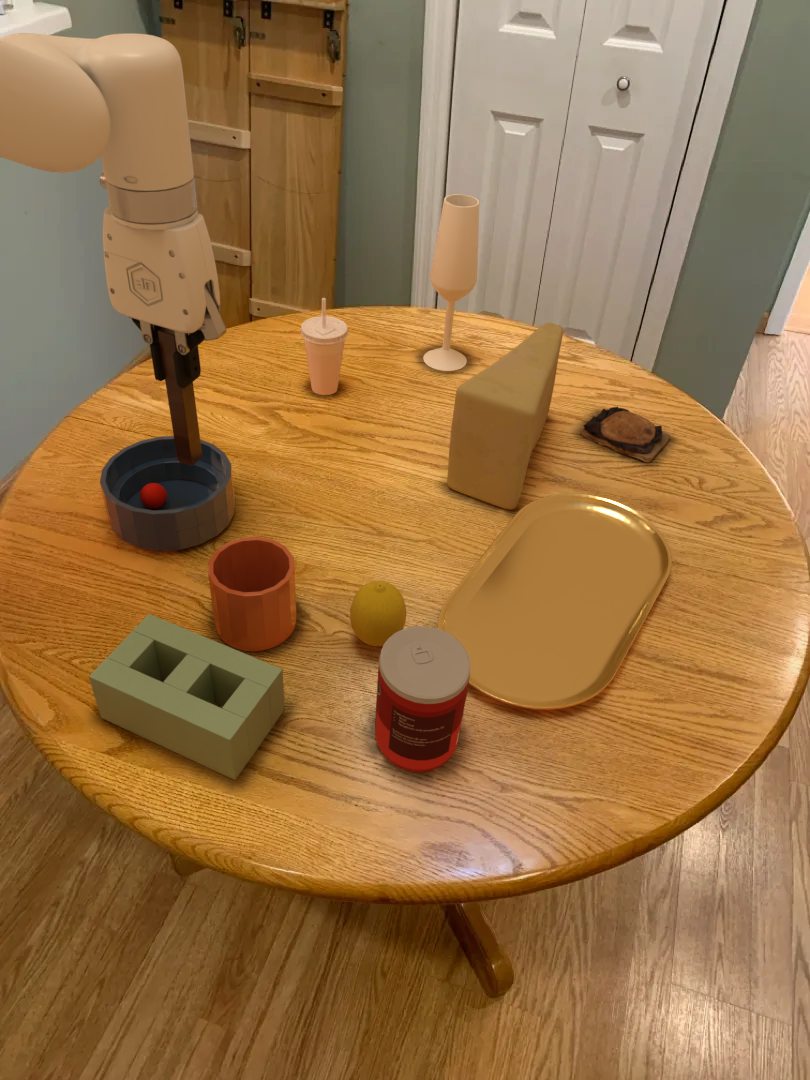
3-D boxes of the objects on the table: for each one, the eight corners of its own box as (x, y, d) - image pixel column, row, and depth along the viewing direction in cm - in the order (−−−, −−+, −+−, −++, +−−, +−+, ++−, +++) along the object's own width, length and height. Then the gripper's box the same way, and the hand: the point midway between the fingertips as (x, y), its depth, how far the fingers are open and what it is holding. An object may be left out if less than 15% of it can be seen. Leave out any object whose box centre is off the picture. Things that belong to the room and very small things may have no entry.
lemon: (386, 670, 83) (390, 615, 78) (339, 647, 85) (339, 591, 80) (413, 634, 87) (419, 579, 82) (367, 613, 89) (369, 558, 83)
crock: (215, 654, 83) (207, 598, 78) (215, 595, 89) (208, 539, 84) (298, 648, 85) (296, 592, 79) (293, 590, 91) (291, 534, 85)
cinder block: (235, 780, 73) (229, 740, 69) (100, 717, 77) (88, 676, 73) (285, 709, 79) (282, 668, 75) (157, 655, 83) (148, 613, 79)
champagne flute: (437, 374, 125) (453, 212, 109) (415, 353, 130) (427, 194, 114) (475, 365, 128) (496, 206, 112) (452, 345, 132) (469, 188, 116)
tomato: (141, 514, 97) (137, 494, 95) (142, 498, 99) (139, 478, 97) (167, 513, 98) (164, 493, 96) (169, 497, 100) (165, 477, 98)
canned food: (422, 690, 82) (432, 612, 74) (475, 748, 77) (491, 672, 70) (356, 726, 78) (360, 648, 71) (408, 790, 73) (417, 714, 66)
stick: (192, 466, 93) (174, 335, 82) (177, 461, 94) (156, 330, 83) (202, 457, 94) (186, 327, 84) (187, 451, 95) (169, 322, 84)
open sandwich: (672, 439, 117) (680, 417, 114) (647, 466, 111) (654, 444, 109) (603, 410, 121) (609, 388, 119) (575, 435, 116) (581, 412, 113)
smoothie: (299, 398, 118) (296, 306, 109) (304, 374, 123) (303, 284, 114) (344, 402, 118) (346, 309, 109) (348, 378, 123) (350, 287, 114)
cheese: (509, 405, 120) (525, 308, 110) (573, 426, 117) (596, 328, 107) (441, 488, 105) (453, 384, 95) (513, 514, 102) (534, 410, 92)
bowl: (103, 558, 92) (93, 517, 88) (115, 478, 103) (107, 438, 99) (235, 550, 95) (231, 509, 91) (234, 473, 105) (230, 433, 101)
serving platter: (402, 661, 84) (403, 651, 83) (545, 484, 107) (547, 474, 106) (576, 750, 78) (579, 740, 77) (689, 541, 101) (692, 531, 100)
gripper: (51, 192, 74) (91, 374, 87) (204, 231, 70) (223, 417, 82) (107, 167, 79) (138, 343, 92) (252, 202, 75) (264, 382, 87)
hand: (178, 377), depth 87 cm, fingers closed on stick, 2 cm apart
